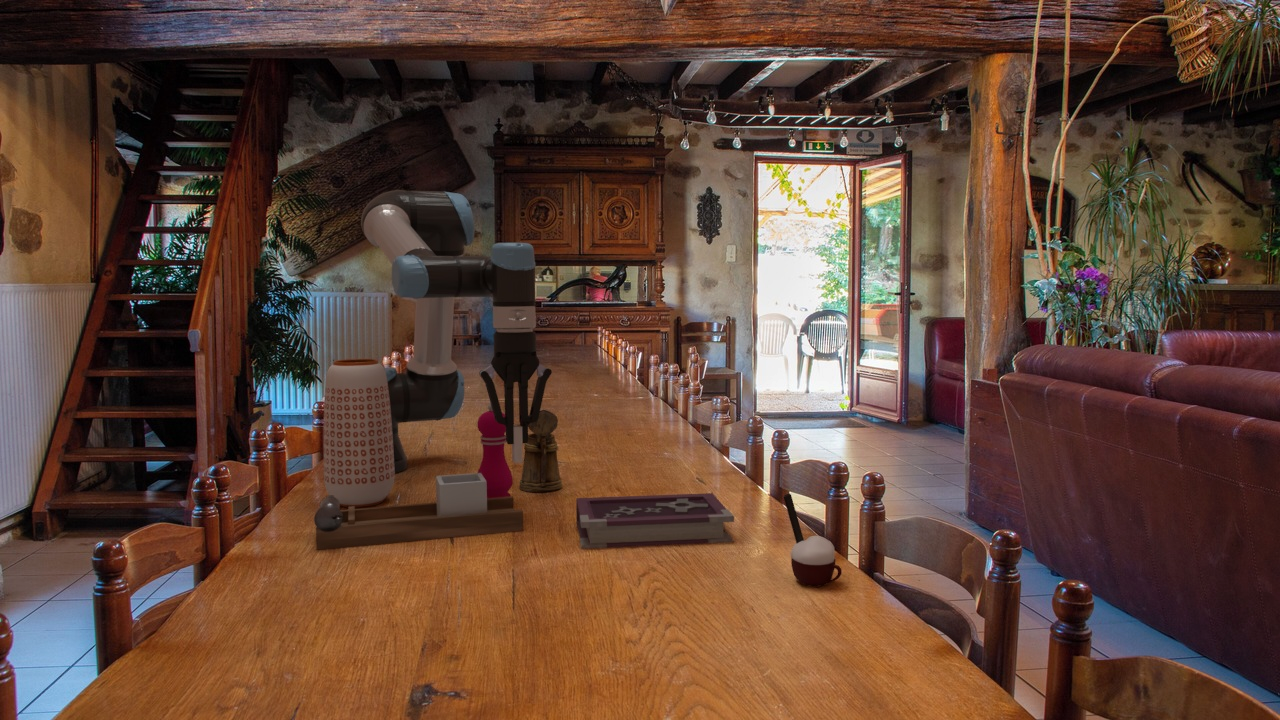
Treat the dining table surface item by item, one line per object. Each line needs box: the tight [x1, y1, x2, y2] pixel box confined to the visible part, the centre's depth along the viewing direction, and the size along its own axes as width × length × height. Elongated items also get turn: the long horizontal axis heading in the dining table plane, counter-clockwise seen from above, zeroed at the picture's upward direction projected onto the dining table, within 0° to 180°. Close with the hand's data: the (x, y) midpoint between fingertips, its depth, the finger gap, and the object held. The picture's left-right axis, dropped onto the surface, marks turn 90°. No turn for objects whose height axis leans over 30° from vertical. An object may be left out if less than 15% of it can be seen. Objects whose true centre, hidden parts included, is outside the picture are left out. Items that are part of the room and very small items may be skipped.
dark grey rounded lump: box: [313, 494, 343, 532], centre depth 145 cm, size 12×4×6 cm, turn 18°
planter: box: [323, 358, 396, 509], centre depth 171 cm, size 13×13×28 cm
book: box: [575, 492, 735, 550], centre depth 151 cm, size 25×16×5 cm, turn 97°
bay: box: [315, 495, 524, 551], centre depth 152 cm, size 11×34×4 cm, turn 108°
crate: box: [435, 472, 487, 517], centre depth 154 cm, size 7×8×7 cm
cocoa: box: [783, 493, 843, 588], centre depth 125 cm, size 10×6×12 cm, turn 22°
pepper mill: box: [477, 403, 514, 498], centre depth 169 cm, size 7×7×20 cm
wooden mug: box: [519, 409, 563, 493], centre depth 180 cm, size 9×14×18 cm, turn 11°
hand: (517, 461), depth 156 cm, fingers closed
